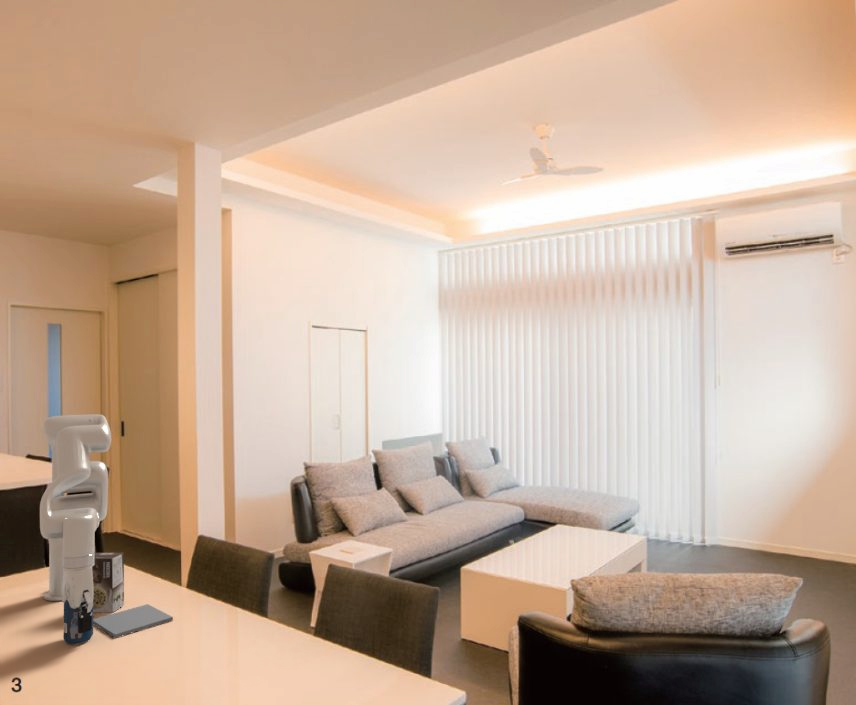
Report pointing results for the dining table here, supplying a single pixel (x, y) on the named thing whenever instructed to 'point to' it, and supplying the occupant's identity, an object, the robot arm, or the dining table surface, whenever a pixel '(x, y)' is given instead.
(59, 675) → the dining table surface
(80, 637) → the soda can
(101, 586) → the coffee box
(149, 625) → the mat
